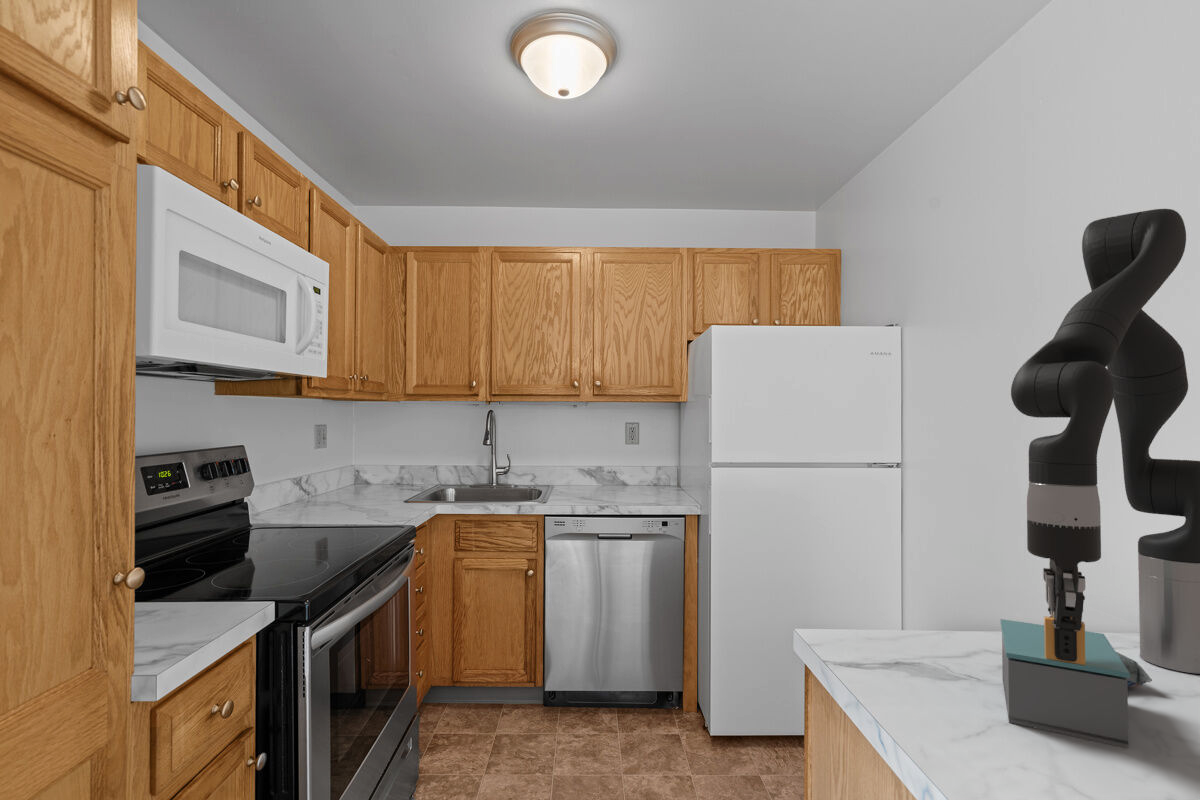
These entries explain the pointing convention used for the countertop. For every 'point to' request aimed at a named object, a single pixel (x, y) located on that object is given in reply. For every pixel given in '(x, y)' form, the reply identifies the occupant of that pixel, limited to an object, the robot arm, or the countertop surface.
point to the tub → (1066, 700)
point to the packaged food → (1134, 671)
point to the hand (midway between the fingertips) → (1064, 657)
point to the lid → (1039, 648)
